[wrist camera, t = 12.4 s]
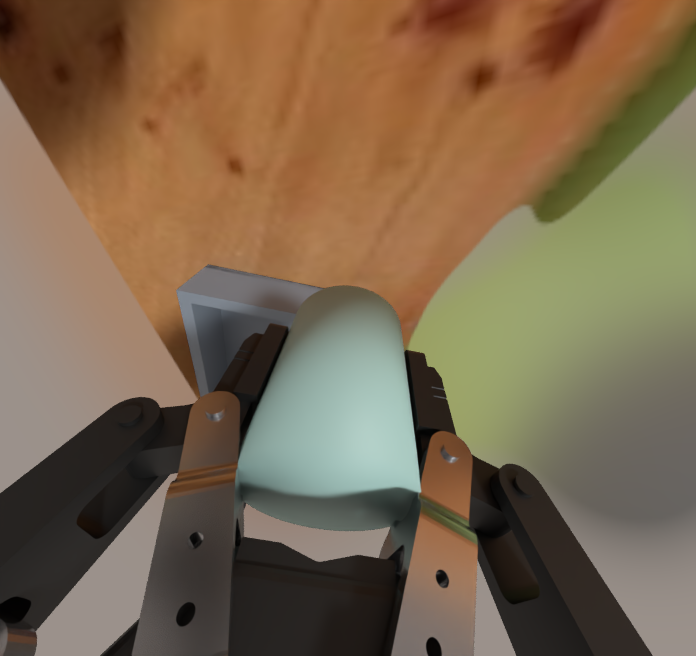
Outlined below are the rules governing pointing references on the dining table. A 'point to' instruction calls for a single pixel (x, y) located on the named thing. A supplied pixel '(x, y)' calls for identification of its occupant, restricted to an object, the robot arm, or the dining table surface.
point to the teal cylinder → (335, 420)
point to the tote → (232, 315)
